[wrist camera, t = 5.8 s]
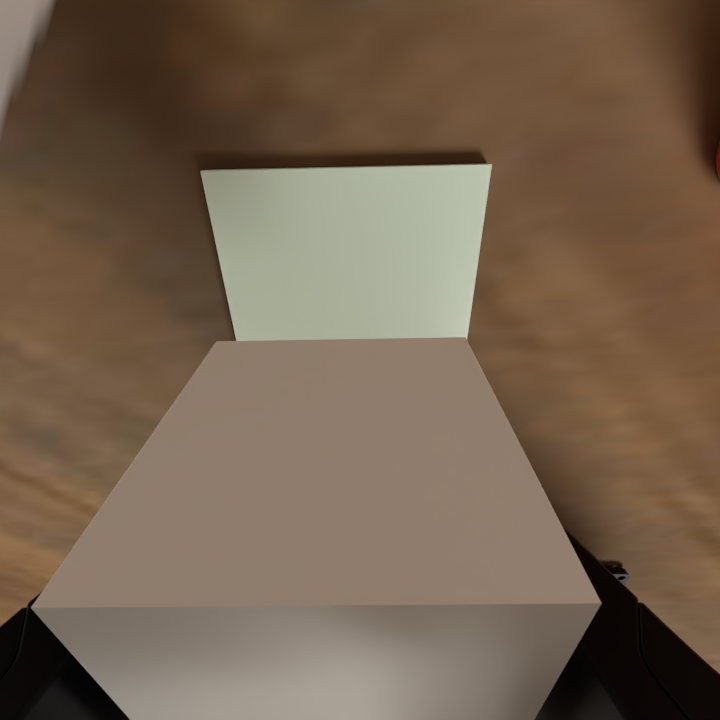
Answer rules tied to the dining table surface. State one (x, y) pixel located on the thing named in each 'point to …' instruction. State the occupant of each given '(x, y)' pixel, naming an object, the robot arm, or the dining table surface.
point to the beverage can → (718, 160)
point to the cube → (326, 547)
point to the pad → (348, 249)
